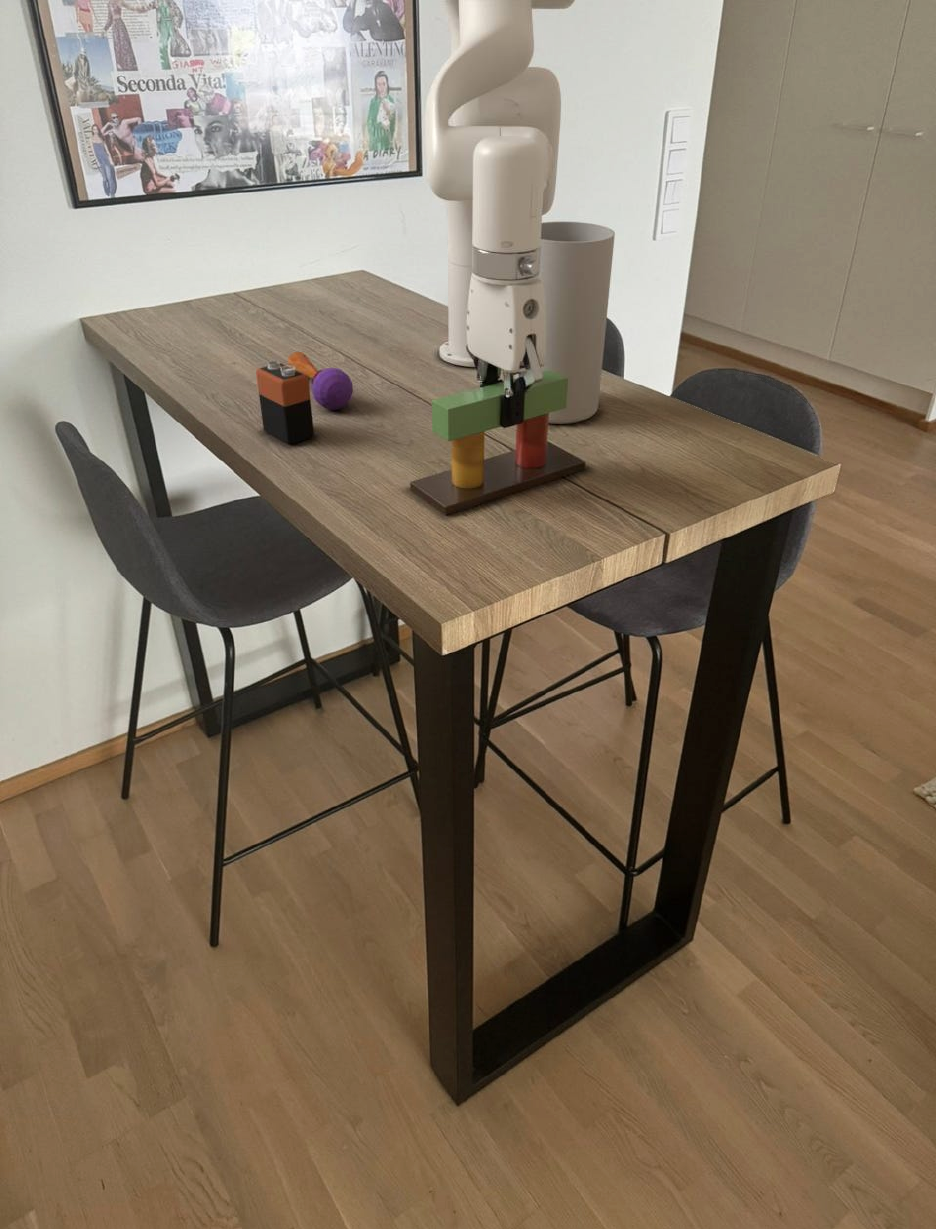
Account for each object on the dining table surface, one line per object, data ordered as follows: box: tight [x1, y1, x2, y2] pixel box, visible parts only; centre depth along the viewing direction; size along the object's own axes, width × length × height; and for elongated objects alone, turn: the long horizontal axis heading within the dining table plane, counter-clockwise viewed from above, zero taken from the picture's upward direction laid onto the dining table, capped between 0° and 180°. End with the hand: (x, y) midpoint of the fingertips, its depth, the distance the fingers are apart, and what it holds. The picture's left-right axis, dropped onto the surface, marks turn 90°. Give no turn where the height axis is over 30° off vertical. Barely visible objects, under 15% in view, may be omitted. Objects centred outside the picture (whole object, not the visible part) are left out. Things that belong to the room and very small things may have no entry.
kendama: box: [287, 351, 354, 411], centre depth 137 cm, size 6×6×20 cm
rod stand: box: [409, 413, 586, 516], centre depth 112 cm, size 22×8×8 cm, turn 125°
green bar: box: [431, 370, 568, 442], centre depth 109 cm, size 18×4×4 cm, turn 125°
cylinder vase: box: [514, 221, 616, 425], centre depth 127 cm, size 12×12×25 cm
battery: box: [255, 360, 315, 445], centre depth 123 cm, size 4×7×10 cm, turn 43°
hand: (501, 417), depth 110 cm, fingers closed on green bar, 3 cm apart
